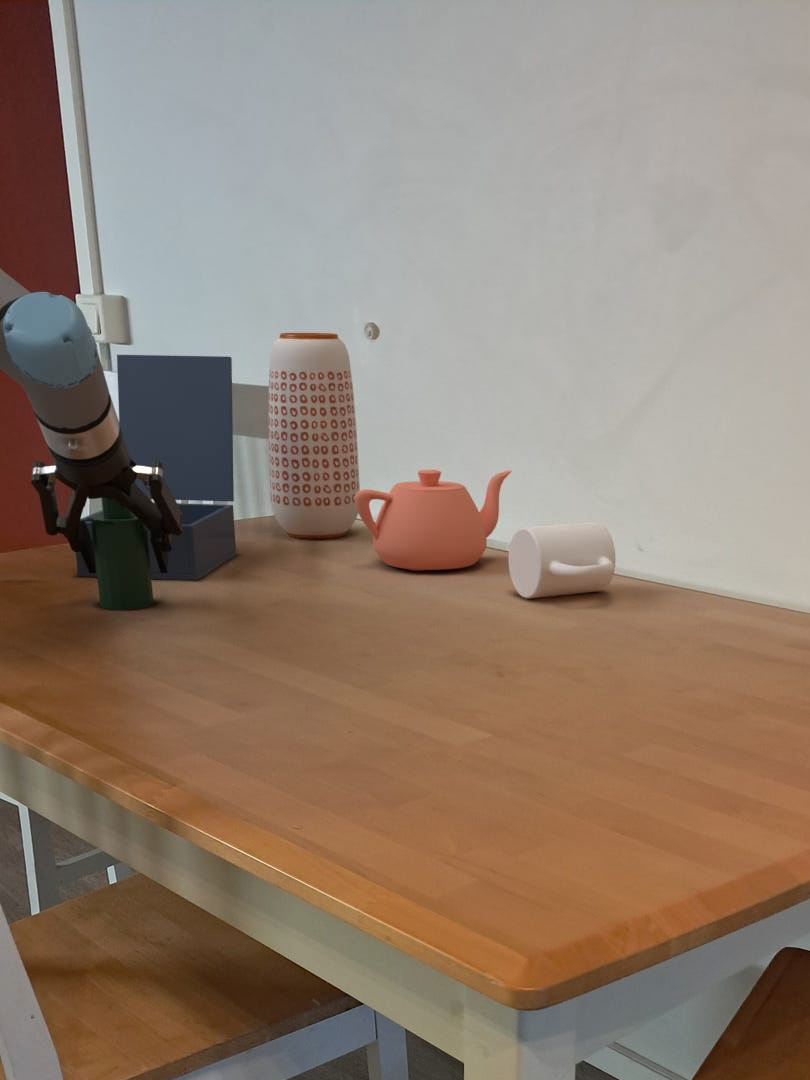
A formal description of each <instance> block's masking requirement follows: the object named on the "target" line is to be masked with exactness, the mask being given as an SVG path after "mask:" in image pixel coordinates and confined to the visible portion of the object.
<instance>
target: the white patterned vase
mask: <svg viewBox="0 0 810 1080" xmlns="http://www.w3.org/2000/svg"><path fill="white" fill-rule="evenodd" d="M348 351H349V350H348V348H347V346H346V344H345V342H344V341H343V340H342V339H340V338H339V335H338V333H332V332H331V333H330V332H281V333H279V338H277V339H276V340H275V341H274V342H273V344H272V346H271V350H270V354H269V355H270V356H269V371H268V373H269V374H268V451H269V452H268V460H269V461H268V462H269V463H268V464H269V465H268V466H269V495H270V496H269V497H270V504H271V505H270V506H271V510H272V513H273V515H274V518H275V520H276V521H277V523H278V524H279V525H280V527H281V528H282V529H283V530H284V531H285V532H286V534H287V535H288V536H289V537H291V538H297V539H303V540H326V539H335V538H340V537H343V536H345V535H347V533H348V531H349V530H350V529H351V527H352V526H353V525H354V523H355V521H356V519H357V517H358V515H359V514H358V511H357V509H356V506H355V498H354V497H355V494H356V493H357V492H358V491H360V490H361V489H360V488H361V486H360V471H359V470H360V469H359V451H358V450H359V449H358V433H357V420H356V419H357V418H356V406H355V396H354V386H353V377H352V369H351V362H350V354H349V352H348Z"/></svg>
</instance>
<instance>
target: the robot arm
mask: <svg viewBox="0 0 810 1080" xmlns="http://www.w3.org/2000/svg"><path fill="white" fill-rule="evenodd" d="M92 332H93V331H92V329H91V328H90V326H89V325H88V322H87V319H86V317H85V314H84V313H83V310H81V308H80V307H79V306H78V304H76V303H75V302H74V301H73V300H72V299H71V298H69V297H67V296H64V295H63V294H59V295H56V294H52V293H51V292H47V291H36V292H30V291H29V290H28V289H26V288H25V287H24V286H23V285H21V284H20V283H19V282H18V281H16V280H15V279H14V278H13V277H11V276H10V275H9V274H8V273H6V272H5V271H4V270H2V268H1V267H0V371H1V372H3V373H4V374H6V375H7V376H9V377H10V378H11V379H13V380H14V381H15V382H16V383H17V384H19V386H21V387H22V389H23V390H24V392H25V394H26V396H27V399H28V400H29V403H30V405H31V408H32V410H33V413H34V416H35V418H36V420H37V423H38V425H39V429H40V430H41V433H42V435H43V438H44V440H45V442H46V444H47V448H48V451H49V453H50V456H51V459H52V461H53V464H54V465H46V464H45V463H44V462H42V461H40V460H35V461H33V463H32V471H31V477H30V478H31V480H30V483H31V486H32V487H33V488H34V489H35V490H36V492H37V493H38V495H39V501H40V506H41V511H42V512H41V513H42V518H43V523H44V528H45V533H46V535H48V536H57V535H58V534H60V535H63V536H64V538H66V539H67V541H68V544H69V547H70V549H71V550H72V551H73V552H74V553H76V552H81V554H82V556H83V559H84V561H85V564H86V566H87V569H88V571H89V573H96V561H95V552H94V543H93V541H92V538H91V536H90V533H89V531H88V528H87V525H86V523H85V520H80V519H81V518H82V515H83V511H84V509H85V507H86V504H87V501H88V500H96V499H101V498H108V499H115V500H116V501H117V502H118V503H119V504H120V505H121V506H122V507H127V508H128V509H129V510H130V511H131V512H132V513H133V514H134V515H135V516H136V517H137V518H138V519H139V520H140V521H141V522H142V523H143V524H144V525H145V526H146V527H147V528H148V529H149V530H150V531H151V540H150V541H151V544H152V547H153V550H154V553H155V556H156V559H157V563H158V566H159V569H160V572H161V573H167V570H168V552H171V550H172V535H171V533H172V534H173V535H181V534H182V521H183V514H182V512H181V510H180V508H179V506H178V504H177V503H178V502H177V500H175V498H174V496H173V494H172V492H171V491H170V489H169V487H168V485H167V483H166V481H165V479H164V477H163V464H162V463H161V462H158V461H154V462H152V464H151V467H146V466H138V465H137V464H136V462H135V461H134V460H133V459H131V458H130V456H129V453H128V450H127V446H126V443H125V440H124V437H123V434H122V430H121V427H120V425H119V416H118V414H117V411H116V408H115V405H114V402H113V398H112V396H111V394H110V389H109V386H108V382H107V379H106V376H105V372H104V369H103V365H102V362H101V358H100V354H99V351H98V344H97V343H96V339H95V336H94V335H93V333H92ZM136 478H138V479H140V480H142V482H143V484H144V485H145V488H146V489H147V490H150V494H151V496H152V499H149V498H148V497H147V496H146V495H145V494H144V493H143V492H142V490H141V489H140V488H139V487H138V486H137V485H136V483H135V480H136ZM56 480H57V481H59V482H60V483H62V484H64V485H65V486H66V487H67V488H69V489H71V490H72V492H71V496H70V501H69V503H68V507H67V510H66V511H65V516H60V512H59V505H58V501H57V493H56V488H55V485H56ZM154 503H155V504H156V505H155V504H154Z"/></svg>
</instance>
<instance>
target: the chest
mask: <svg viewBox="0 0 810 1080" xmlns="http://www.w3.org/2000/svg"><path fill="white" fill-rule="evenodd" d="M153 503H154V504H155V502H153ZM177 504H178V506H179V508H180V510H181V512H182V514H183V521H182V534H181V535H173V534H172V533H171V535H172V550H171V552H168V570H167V573H161V572H160V569H159V566H158V563H157V559H156V556H155V553H154V550H153V547H152V544H151V541H150V540H151V531H150V530H149V529H148V528H147V537H148V548H149V558H150V569H151V580H171V581H198V580H200V579H201V578H203V577H204V576H206V575H208V574H209V573H210V572H212V571H214V570H215V569H217V568H218V567H220V566H222V564H225V563H226V562H228V561H229V560H231V559H233V558H234V557H236V556H237V547H236V546H237V545H236V531H235V529H236V528H235V515H234V513H235V511H234V504H220V503H219V504H216V503H215V504H214V503H213V504H211V503H182V502H181V503H180V502H177ZM155 505H156V504H155ZM98 514H103V510H102V509H101V510H99V511H96V512H94V513H92V514H89V515H87V516H85V517H81V518H80V520H85V523H86V525H87V528H88V531H89V533H90V536H91V538H92V541H93V534H92V525H91V517H92V516H94V515H98ZM75 560H76V568H77V576H78V577H83V578H84V577H86V578H87V577H88V578H97V570H96V573H89V571H88V569H87V566H86V564H85V561H84V559H83V556H82V554H81V552H75Z"/></svg>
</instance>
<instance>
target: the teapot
mask: <svg viewBox="0 0 810 1080" xmlns="http://www.w3.org/2000/svg"><path fill="white" fill-rule="evenodd" d="M512 471H513V470H512V469H509V470H505V471H502V472H499V473H497V474H495V475H494V476H492V477H491V479H490V480H489V482H488V484H487V487H486V492H485V499H484V503H483V506H482V507H481V509H480V510H479V509H478V506H477V505H476V503H475V502H474V500H473V497H472V496H471V494H470V492H469V491H468V489H467V488H466V487H465V485H464V484H461V483H458V482H453V481H443V480H440V478H441V476H442V471H440V470H438V469H420V470H418V471H417V476H418V479H419V480H416V481H413V480H412V481H403V482H398V483H395V484H394V485H393V486H392V488H391V489H390V491H389V492H384V491H380V490H374V489H365V488H364V489H360V491H358V492H357V493H356V494H355V497H354V498H355V506H356V509H357V511H358V515H359V517H360V519H361V521H362V523H363V524H364V525H365V527H366V528H367V530H368V532H369V533H370V534H371V535H372V547H373V549H374V551H375V553H376V554H377V555H378V557H379V558H380V559H381V560H382V561H383V563H384V564H386V565H388V566H391V567H395V568H400V569H405V570H408V571H412V572H422V571H423V572H424V571H430V570H431V571H438V570H439V571H440V570H453V569H454V570H455V569H456V570H457V569H460V570H461V569H465V568H466V567H471V566H473V565H475V564H476V563H477V562H478V561H479V560H480V559H481V557H482V556H483V554H484V553H485V551H486V549H487V538H488V537H489V536H491V534H492V533H493V532H494V530H495V529H496V527H497V524H498V522H499V516H500V492H501V488H502V485H503V482H504V481H505V479H506V478H507V477H508V476H509V475H510V474H511V473H512ZM372 500H373V501H374V500H381V501H383V504H382V505H381V508H380V510H379V512H378V514H377V517H376V520H375V521H374V518H373V516H372V511H371V508H370V502H371V501H372Z"/></svg>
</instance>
